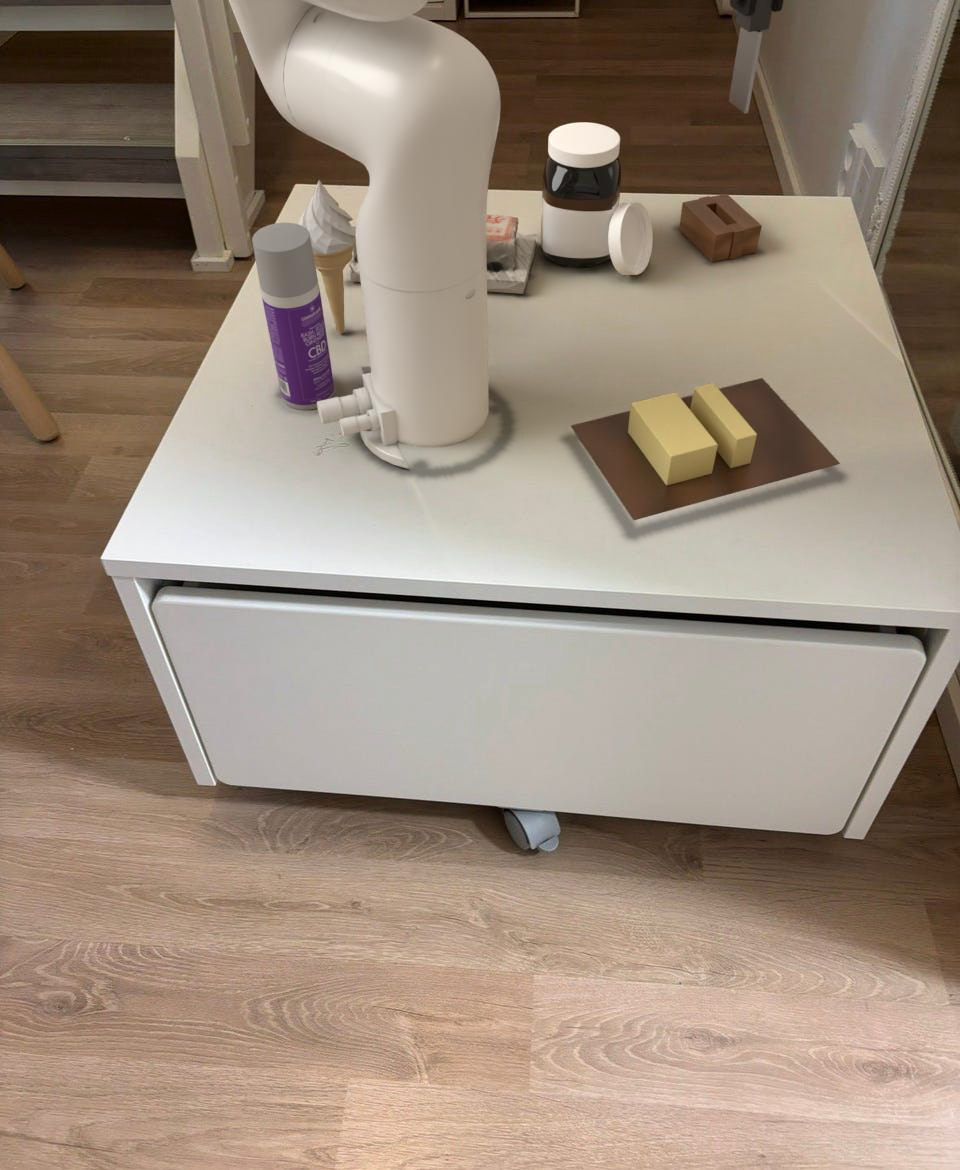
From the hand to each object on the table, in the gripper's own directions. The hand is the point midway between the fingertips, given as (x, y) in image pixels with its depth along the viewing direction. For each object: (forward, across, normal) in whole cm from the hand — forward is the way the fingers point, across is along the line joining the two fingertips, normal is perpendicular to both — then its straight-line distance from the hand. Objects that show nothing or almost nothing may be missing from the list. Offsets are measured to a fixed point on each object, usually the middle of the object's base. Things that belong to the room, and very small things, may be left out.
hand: (755, 6), depth 89 cm
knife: (+9, 0, 0) cm, 9 cm away
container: (+23, -45, -9) cm, 52 cm away
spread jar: (+23, -12, +3) cm, 26 cm away
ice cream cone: (+23, -40, -1) cm, 46 cm away
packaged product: (+23, -27, +7) cm, 36 cm away
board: (+23, -17, -29) cm, 41 cm away
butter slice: (+21, -16, -29) cm, 39 cm away
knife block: (+23, +1, +1) cm, 23 cm away
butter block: (+21, -20, -29) cm, 41 cm away
